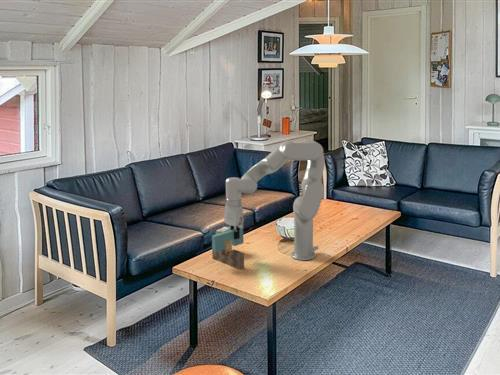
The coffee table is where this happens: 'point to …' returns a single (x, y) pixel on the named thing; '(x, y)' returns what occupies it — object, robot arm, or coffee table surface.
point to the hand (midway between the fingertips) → (234, 237)
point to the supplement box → (227, 243)
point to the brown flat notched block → (230, 258)
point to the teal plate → (220, 239)
